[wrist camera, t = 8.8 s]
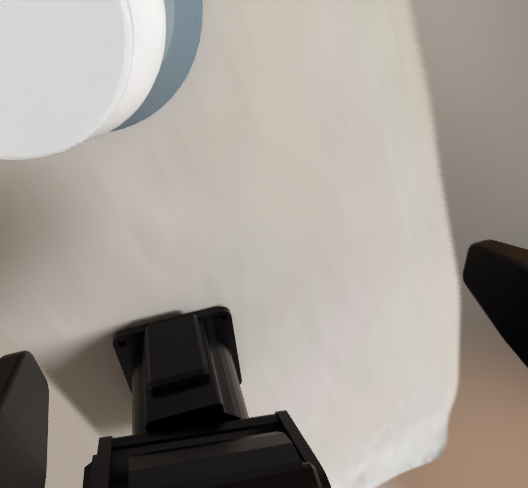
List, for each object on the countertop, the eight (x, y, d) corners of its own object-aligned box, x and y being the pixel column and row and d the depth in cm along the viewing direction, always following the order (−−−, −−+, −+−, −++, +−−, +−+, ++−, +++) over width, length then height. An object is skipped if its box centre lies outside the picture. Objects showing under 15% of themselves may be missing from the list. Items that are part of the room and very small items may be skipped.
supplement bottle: (-61, 11, 13) (-374, 49, 5) (24, -157, 12) (-218, -493, 4) (100, 117, 16) (70, 252, 8) (184, -9, 14) (252, -5, 6)
